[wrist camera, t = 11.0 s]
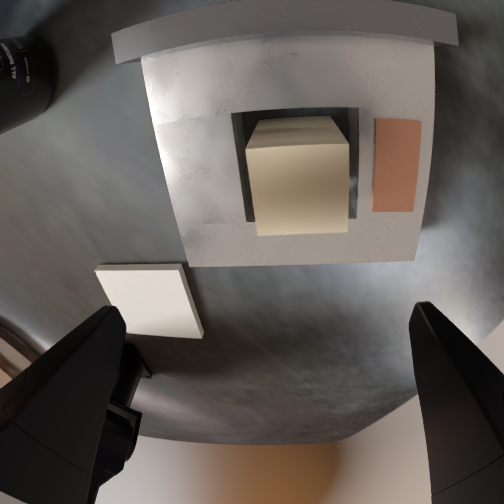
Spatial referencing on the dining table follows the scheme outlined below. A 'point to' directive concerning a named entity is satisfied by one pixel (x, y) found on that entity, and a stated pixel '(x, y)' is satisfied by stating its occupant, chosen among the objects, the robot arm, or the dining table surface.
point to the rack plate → (292, 96)
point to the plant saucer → (14, 353)
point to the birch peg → (299, 176)
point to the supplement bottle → (25, 79)
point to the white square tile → (152, 299)
